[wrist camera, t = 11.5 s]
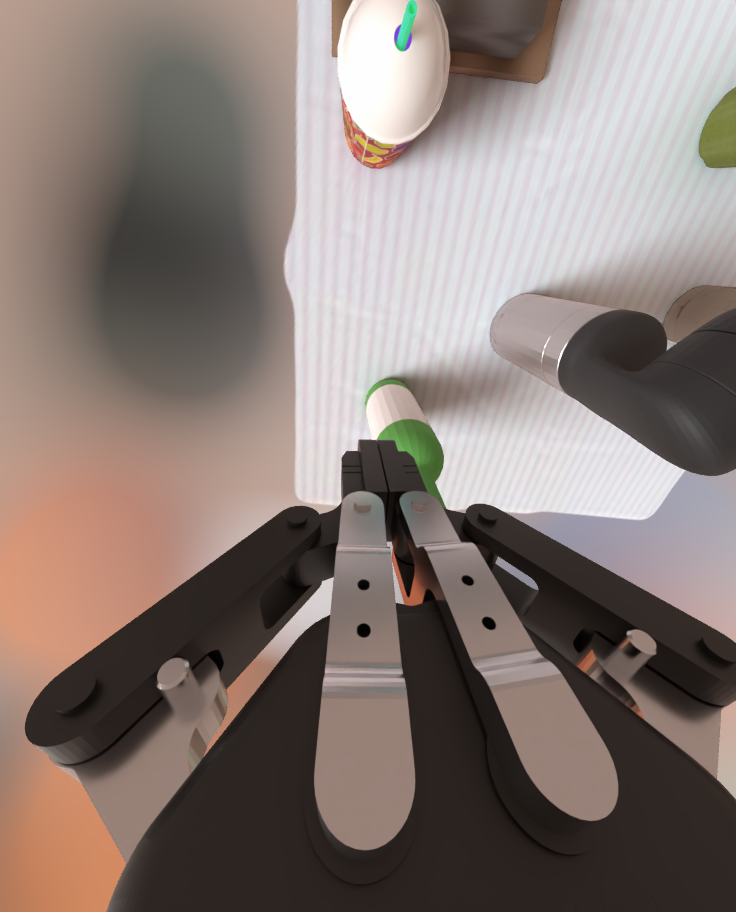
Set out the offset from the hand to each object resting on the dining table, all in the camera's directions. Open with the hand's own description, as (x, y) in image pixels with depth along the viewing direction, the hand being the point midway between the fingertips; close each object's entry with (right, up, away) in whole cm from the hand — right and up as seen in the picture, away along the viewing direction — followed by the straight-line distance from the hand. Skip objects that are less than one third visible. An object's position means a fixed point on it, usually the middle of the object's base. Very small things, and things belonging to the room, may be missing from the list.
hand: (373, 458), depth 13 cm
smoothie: (0, +36, +21) cm, 42 cm away
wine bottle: (+3, +9, +38) cm, 40 cm away
